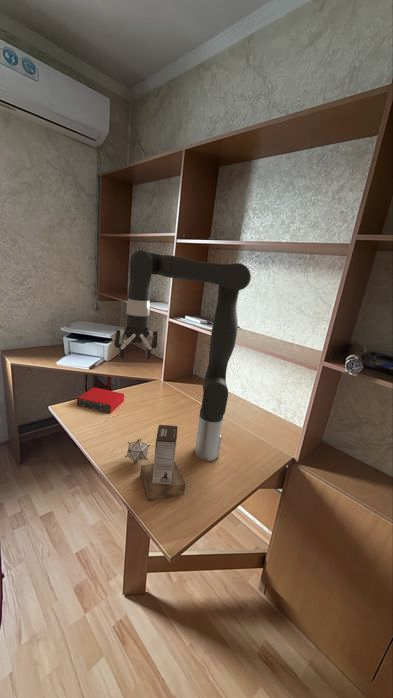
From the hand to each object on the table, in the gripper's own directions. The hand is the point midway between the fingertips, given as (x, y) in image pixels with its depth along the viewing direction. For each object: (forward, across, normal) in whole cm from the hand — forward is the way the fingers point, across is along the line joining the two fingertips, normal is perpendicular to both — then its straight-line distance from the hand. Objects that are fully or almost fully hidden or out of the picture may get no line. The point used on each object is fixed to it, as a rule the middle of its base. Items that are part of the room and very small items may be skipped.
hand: (134, 359), depth 101 cm
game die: (+38, -2, +6) cm, 39 cm away
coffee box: (+34, -8, +19) cm, 40 cm away
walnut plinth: (+38, -8, +19) cm, 43 cm away
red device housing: (+39, +7, -42) cm, 58 cm away
